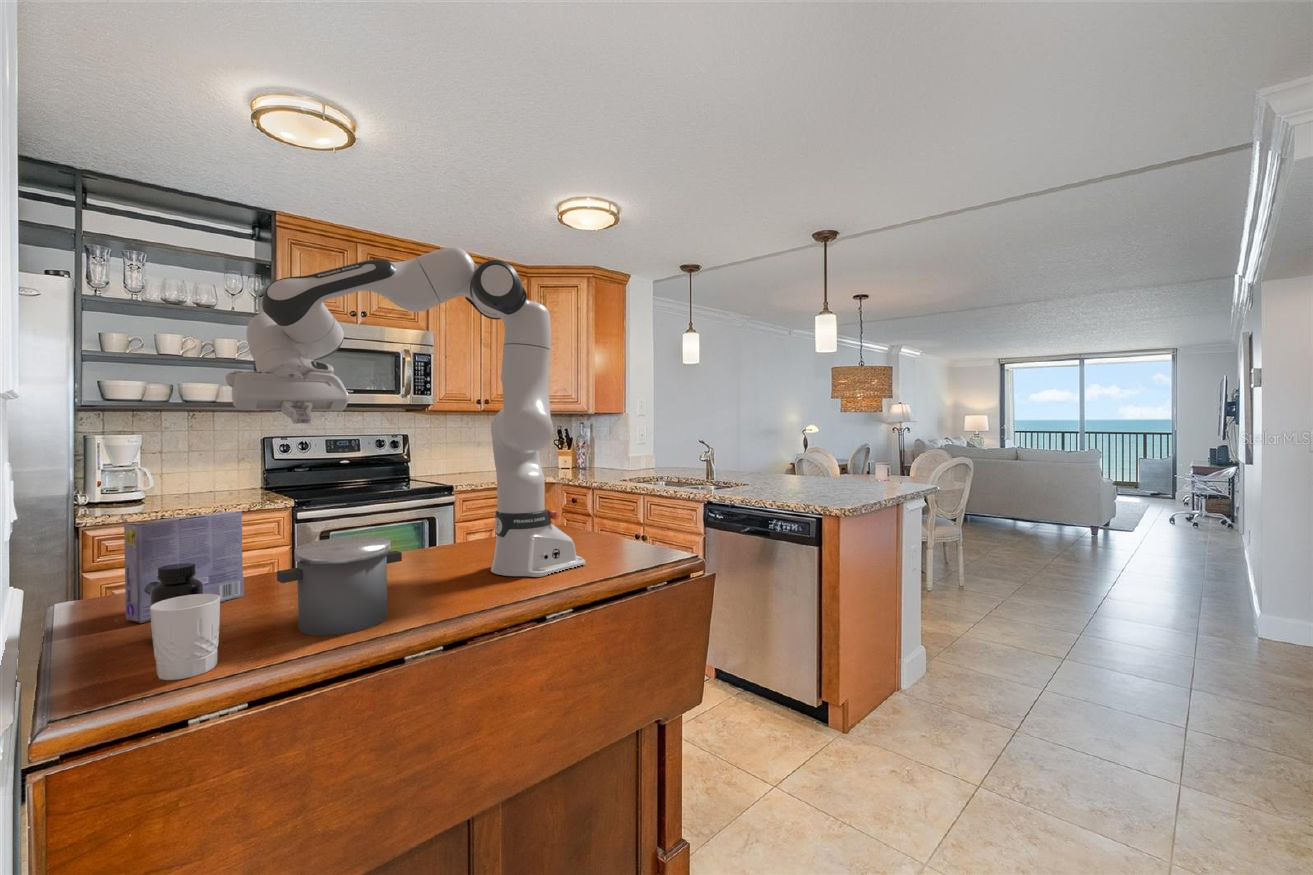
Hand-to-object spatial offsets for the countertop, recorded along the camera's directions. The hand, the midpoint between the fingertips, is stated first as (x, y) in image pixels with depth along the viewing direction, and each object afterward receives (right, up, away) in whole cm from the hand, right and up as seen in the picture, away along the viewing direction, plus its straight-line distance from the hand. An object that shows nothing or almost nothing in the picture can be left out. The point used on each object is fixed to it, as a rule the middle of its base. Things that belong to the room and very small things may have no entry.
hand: (302, 421), depth 117 cm
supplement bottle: (-9, -36, -19) cm, 42 cm away
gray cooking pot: (+14, -36, -11) cm, 40 cm away
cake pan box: (-20, -36, -3) cm, 41 cm away
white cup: (+2, -37, -31) cm, 48 cm away
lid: (+14, -24, -12) cm, 30 cm away
